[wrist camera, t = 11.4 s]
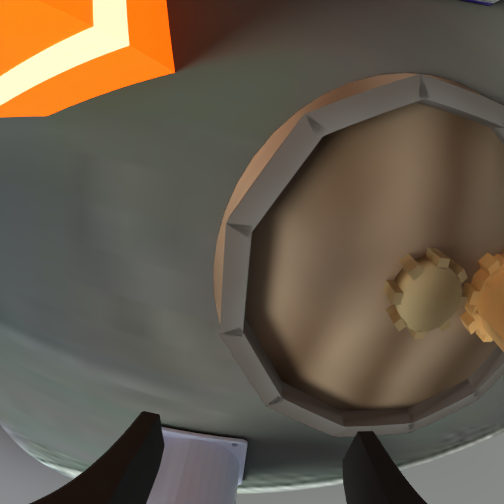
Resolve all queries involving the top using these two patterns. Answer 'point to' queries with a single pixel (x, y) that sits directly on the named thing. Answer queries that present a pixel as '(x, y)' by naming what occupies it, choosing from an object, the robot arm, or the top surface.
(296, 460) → the top surface
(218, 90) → the top surface
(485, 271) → the planet gear
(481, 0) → the supplement box
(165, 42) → the orange juice
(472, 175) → the wooden tray
